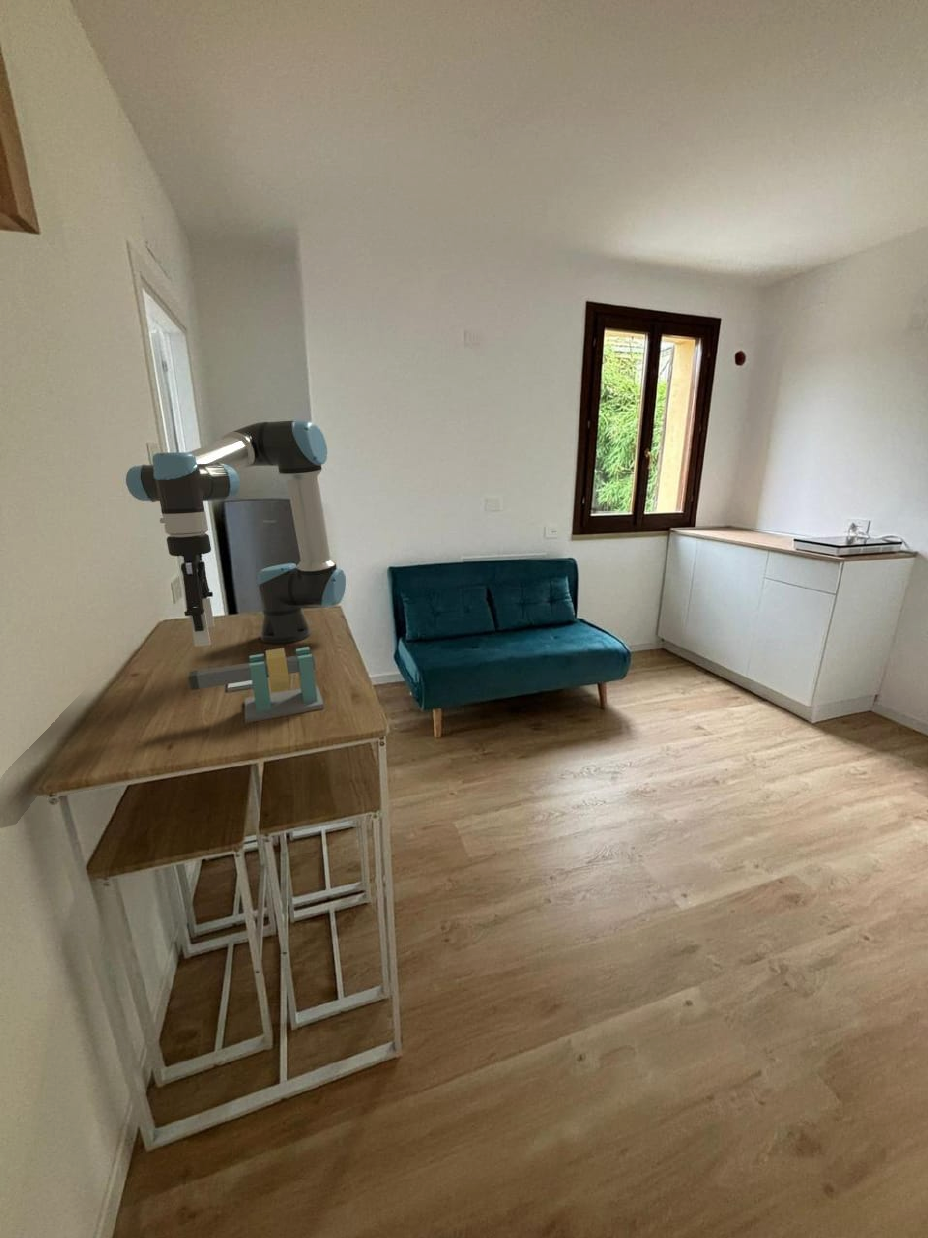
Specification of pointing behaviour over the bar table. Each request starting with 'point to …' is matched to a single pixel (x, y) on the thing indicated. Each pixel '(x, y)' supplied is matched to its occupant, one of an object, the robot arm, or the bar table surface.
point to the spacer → (277, 669)
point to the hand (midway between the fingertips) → (205, 636)
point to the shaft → (234, 673)
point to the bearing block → (285, 701)
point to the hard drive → (240, 685)
